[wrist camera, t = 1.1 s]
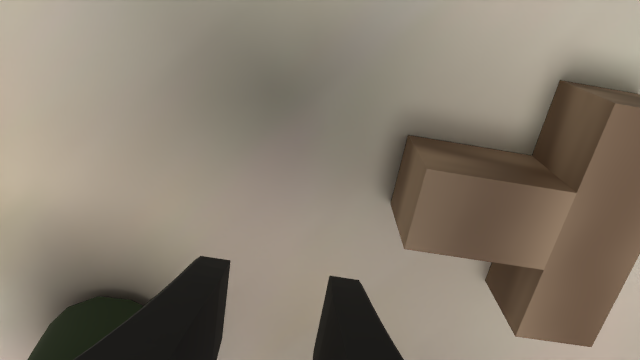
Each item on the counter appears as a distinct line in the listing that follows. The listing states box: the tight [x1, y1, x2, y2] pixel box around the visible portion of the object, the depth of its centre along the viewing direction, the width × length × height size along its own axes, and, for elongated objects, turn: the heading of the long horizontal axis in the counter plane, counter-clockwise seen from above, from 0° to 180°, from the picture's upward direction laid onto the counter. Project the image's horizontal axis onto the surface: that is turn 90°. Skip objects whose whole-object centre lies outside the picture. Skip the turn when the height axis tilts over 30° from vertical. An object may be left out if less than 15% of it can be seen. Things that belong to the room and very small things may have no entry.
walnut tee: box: [391, 80, 640, 347], centre depth 17 cm, size 8×9×4 cm
